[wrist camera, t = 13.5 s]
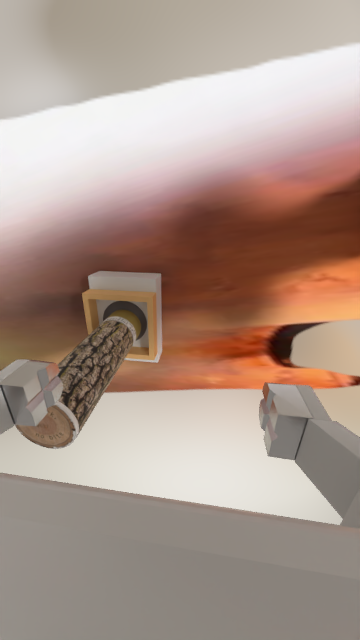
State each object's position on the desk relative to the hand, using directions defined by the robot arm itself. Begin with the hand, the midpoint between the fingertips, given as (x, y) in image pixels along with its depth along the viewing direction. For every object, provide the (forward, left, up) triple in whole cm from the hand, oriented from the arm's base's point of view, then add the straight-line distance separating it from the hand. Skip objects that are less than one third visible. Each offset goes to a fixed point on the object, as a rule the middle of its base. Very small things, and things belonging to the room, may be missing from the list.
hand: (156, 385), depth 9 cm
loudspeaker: (+14, +13, -39) cm, 43 cm away
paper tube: (+14, +13, -34) cm, 39 cm away
